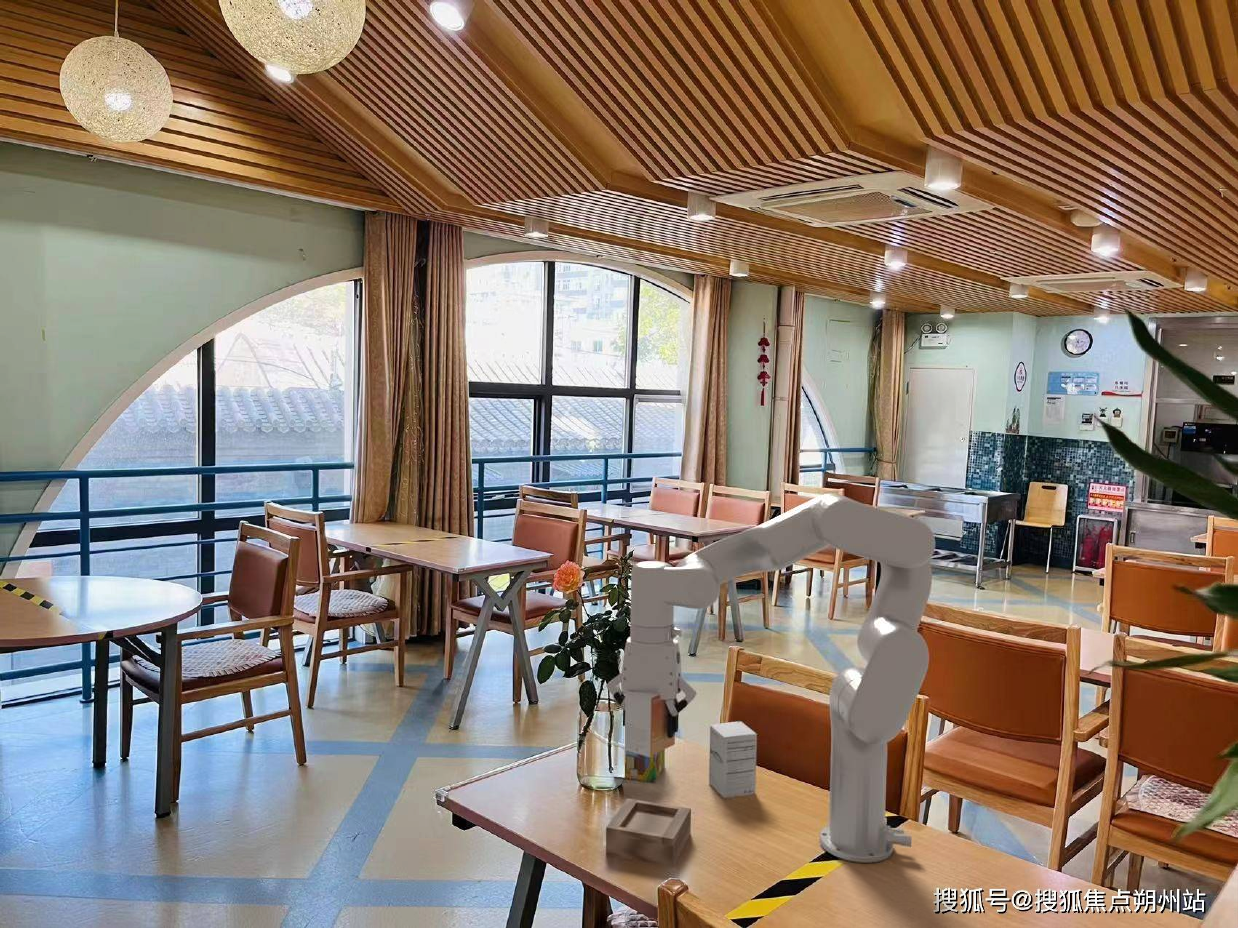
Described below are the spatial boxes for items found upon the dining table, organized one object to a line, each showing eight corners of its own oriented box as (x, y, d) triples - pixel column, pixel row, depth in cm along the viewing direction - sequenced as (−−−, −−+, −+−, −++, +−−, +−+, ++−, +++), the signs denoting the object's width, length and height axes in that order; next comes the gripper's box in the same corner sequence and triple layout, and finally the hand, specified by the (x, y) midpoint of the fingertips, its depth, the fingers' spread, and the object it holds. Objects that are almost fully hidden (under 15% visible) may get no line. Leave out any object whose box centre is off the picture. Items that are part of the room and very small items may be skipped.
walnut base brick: (690, 836, 162) (690, 808, 162) (672, 868, 151) (673, 838, 151) (627, 825, 166) (628, 798, 166) (605, 856, 155) (606, 827, 155)
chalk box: (654, 784, 183) (655, 713, 182) (612, 777, 186) (612, 708, 185) (666, 766, 192) (667, 699, 191) (625, 761, 195) (626, 694, 194)
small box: (650, 758, 152) (650, 698, 152) (623, 750, 156) (624, 691, 155) (675, 744, 159) (676, 686, 158) (650, 737, 162) (651, 680, 161)
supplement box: (707, 783, 184) (708, 723, 183) (740, 779, 186) (742, 720, 185) (722, 799, 177) (723, 736, 176) (756, 794, 179) (758, 732, 178)
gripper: (705, 632, 157) (703, 731, 158) (610, 623, 162) (609, 719, 163) (696, 643, 150) (694, 746, 151) (597, 633, 155) (596, 734, 156)
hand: (650, 731), depth 157 cm, fingers closed on small box, 7 cm apart
